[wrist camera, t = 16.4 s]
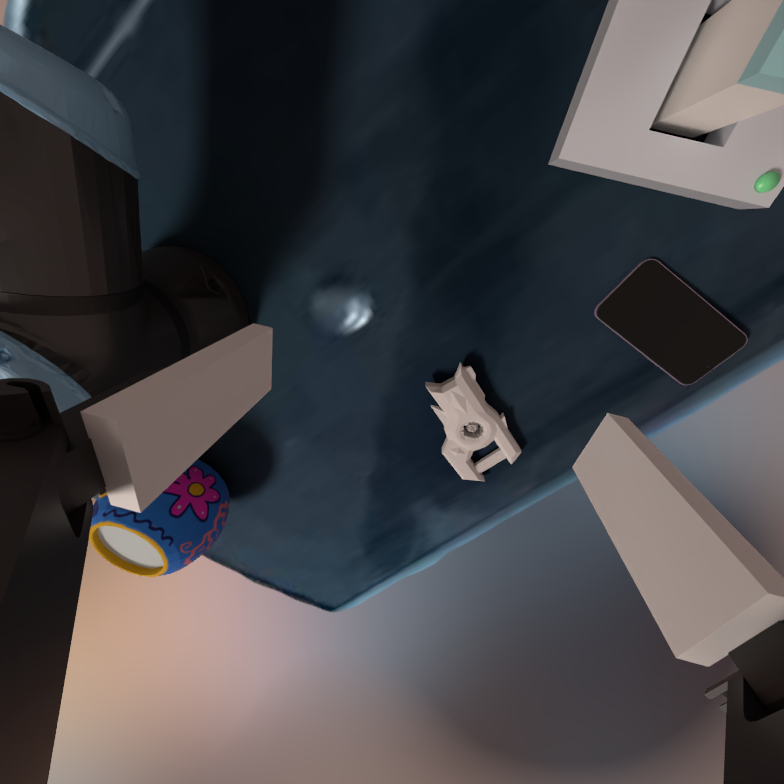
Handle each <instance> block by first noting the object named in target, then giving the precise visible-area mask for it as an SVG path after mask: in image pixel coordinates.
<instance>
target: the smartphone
mask: <svg viewBox="0 0 784 784" xmlns="http://www.w3.org/2000/svg"><path fill="white" fill-rule="evenodd" d="M594 314H595V316H596V318H597V319H599V320H600V321H601V322H602V323H604V324H605V325H606V326H607V327H609V328H610V329H611V330H612V331H614V332H615V333H616V334H617V335H619V336H620V337H621V338H623V339H624V340H625V341H626V342H628V343H629V344H630V345H631V346H633V345H634V346H633V347H634V348H635V349H636V350H638V351H639V352H640V353H641V354H643V355H644V356H645V357H647V359H649V360H650V361H651V362H652V363H654V364H655V365H656V366H658V367H659V368H661V367H662V368H661V369H662V370H663V371H664V372H666V373H667V374H668V375H669V376H671V377H672V378H673V379H675V380H676V381H677V382H679V383H680V384H683V385H690V384H693V383H695V382H696V381H698V380H699V379H701V378H702V377H703V376H705V375H706V374H707V373H709V372H710V371H712V370H713V369H714V368H716V367H717V366H718V365H720V364H721V363H722V362H724V361H725V360H726V359H728V358H729V357H731V356H732V355H733V354H735V353H736V352H737V351H739V350H740V349H741V348H743V347H744V346H745V344H746V343H747V340H748V338H747V336H746V334H745V333H744V332H742V331H741V330H740V329H739V328H738V327H736V326H735V325H734V324H733V323H732V322H731V321H729V320H728V319H727V318H726V317H725V316H723V315H722V314H721V313H720V312H719V311H718V310H716V309H715V308H714V307H713V306H712V305H710V304H709V303H708V302H707V301H706V300H704V299H703V298H702V297H701V296H700V295H699V294H697V293H696V292H695V291H694V290H693V289H691V288H690V287H689V286H688V285H687V284H686V283H684V282H683V281H682V280H681V279H680V278H678V277H677V276H676V275H675V274H674V273H672V272H671V271H670V270H669V269H668V268H667V267H665V266H664V265H663V264H662V263H661V262H659V261H658V260H656V259H646V260H643V261H642V262H640V263H639V264H638V265H637V266H636V267H635V268H634V269H633V270H632V271H631V272H630V273H629V274H628V275H627V276H626V277H625V278H624V279H623V280H622V281H621V282H620V283H619V284H618V285H617V286H616V287H615V288H614V289H613V290H612V291H611V292H610V293H609V294H608V295H607V296H606V297H605V298H604V299H603V300H602V301H601V302H600V303H599V304H598V305H597V306H596V308H595V311H594Z"/></svg>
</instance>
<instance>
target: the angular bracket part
mask: <svg viewBox="0 0 784 784" xmlns="http://www.w3.org/2000/svg"><path fill="white" fill-rule="evenodd" d="M425 386H426V388H427V389H428V391H429V392H430V393H431V395H432V396H433V397H434V399H435V400H436V402H437V403H438V404H439V406H440V407H439V406H434V405H431V407H432V408H433V410H434V411H435V413H436V414H437V416H438V417H439V419H440V420H441V421H442V423H443V424H444V429H445V432H446V435H447V437H446V439H445V442H444V444H443V446H442V454H443V455H444V456H445V457H446V459H447V460H448V461H449V463H450V464H451V465H452V466H453V468H454V469H455V470H456V471H457V473H458V474H459V475H460V477H461V478H462V479H466V480H477V481H485V480H484V476H483V474H482V472H484V471H485V470H487V469H489V468H490V467H492V466H493V465H495V464H497V463H498V462H500V461H502V460H503V459H505V458H507V459H508V461H509V462H510V464H512V463H513V462H514V461H515V459H516V458H517V457H518V456H519V455H520V453H521V449H520V447H519V445H518V444H517V442H516V441H515V439H514V438H513V436H512V434H511V433H510V431H509V430H508V428H507V424H506V420H505V416H504V413H502V414H501V415H500V416H499V414H498V413H497V411H496V410H495V409H493V408H492V407H491V406H490V405H489V404H487V403H486V401H485V394H484V393H483V391H482V390H481V388H480V386H479V385H478V383H477V382H476V374H475V372H474V371H473V369H472V367H471V366H466V367H463V366H462V364H461V363H460V364H459V367H458V369H457V371H456V374H455V376H454V377H452V378H450V379H448V380H446V381H445V382H443V383H430V382H425ZM478 424H479V425H480V426H478ZM464 426H466V427H464ZM493 440H495V442H496V443H497V445H498V446H499V448H498V449H496V450H495V451H493V452H491V453H490V454H488V455H487V456H485V457H484V458H482V459H481V460H479V461H478V462H476V463H474V462H473V461H472V459H471V456H472V454H473V451H475V450H478V449H481V448H484V447H486V446H487V445H489V444H490V443H491V442H492V441H493Z"/></svg>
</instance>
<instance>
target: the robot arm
mask: <svg viewBox="0 0 784 784" xmlns="http://www.w3.org/2000/svg"><path fill="white" fill-rule="evenodd" d="M138 180H140V173H139V172H138V171H137V169H136V161H135V153H134V146H133V138H132V128H131V123H130V119H129V117H128V114H127V112H126V110H125V108H124V107H123V105H122V104H121V102H120V101H119V100H118V99H117V97H116V96H115V95H114V94H113V93H112V92H111V91H110V90H109V89H108V88H107V87H105V86H104V85H103V84H102V83H100V82H99V81H97V80H96V79H94V78H93V77H91V76H90V75H88V74H86V73H85V72H83V71H82V70H80V69H78V68H76V67H75V66H73V65H71V64H70V63H68V62H66V61H65V60H63V59H61V58H59V57H58V56H56V55H54V54H52V53H51V52H49V51H47V50H45V49H44V48H42V47H40V46H38V45H37V44H35V43H33V42H31V41H29V40H28V39H26V38H24V37H22V36H20V35H19V34H17V33H15V32H13V31H11V30H9V29H8V28H6V27H4V26H2V25H0V784H47V781H48V775H49V770H50V764H51V757H52V752H53V746H54V740H55V734H56V728H57V722H58V716H59V710H60V705H61V699H62V693H63V687H64V680H65V675H66V669H67V663H68V657H69V652H70V645H71V640H72V634H73V628H74V622H75V616H76V610H77V604H78V598H79V592H80V587H81V581H82V575H83V569H84V563H85V557H86V551H87V545H88V540H89V534H90V528H91V522H92V516H93V510H94V508H93V504H92V500H91V498H92V497H94V496H95V495H96V494H98V493H99V492H100V491H101V490H103V489H104V488H105V489H106V492H107V495H108V498H109V501H110V504H111V505H113V506H117V507H120V508H124V509H128V510H131V511H135V512H139V513H141V512H142V511H143V510H144V509H145V508H146V507H148V506H149V505H150V504H151V503H152V502H153V501H154V500H155V499H156V498H157V497H158V496H159V495H160V494H161V493H162V492H163V491H164V490H165V489H166V488H168V487H169V486H170V485H171V484H172V483H173V482H174V481H175V480H176V479H177V478H178V477H179V476H180V475H181V474H182V473H183V472H184V471H185V470H187V469H188V468H189V467H190V466H191V465H192V464H193V463H194V462H195V461H196V460H197V459H198V458H199V457H200V456H201V455H202V454H203V453H204V452H205V451H207V450H208V449H209V448H210V447H211V446H212V445H213V444H214V443H215V442H216V441H217V440H218V439H219V438H220V437H221V436H222V435H223V434H224V433H226V432H227V431H228V430H229V429H230V428H231V427H232V426H233V425H234V424H235V423H236V422H237V421H238V420H239V419H240V418H241V417H242V416H243V415H244V414H246V413H247V412H248V411H249V410H250V409H251V408H252V407H253V406H254V405H255V404H256V403H257V402H258V401H259V400H260V399H261V398H262V397H263V396H265V395H266V394H267V393H268V392H269V391H270V390H271V372H272V333H273V328H270V327H266V326H262V325H259V324H255V323H253V324H251V325H249V319H248V312H247V308H246V305H245V302H244V299H243V297H242V294H241V292H240V291H239V289H238V287H237V285H236V284H235V282H234V281H233V280H232V278H231V277H230V276H229V275H228V273H227V272H226V271H225V270H224V269H223V268H222V267H221V266H220V265H219V264H217V263H216V262H215V261H214V260H212V259H211V258H209V257H208V256H206V255H204V254H202V253H200V252H198V251H196V250H193V249H190V248H186V247H180V246H168V247H157V248H152V249H148V250H146V251H143V252H142V250H141V235H140V221H139V199H138ZM572 468H573V469H574V471H575V473H576V475H577V477H578V479H579V480H580V482H581V484H582V486H583V488H584V489H585V491H586V493H587V495H588V497H589V499H590V501H591V503H592V504H593V506H594V508H595V510H596V512H597V514H598V515H599V517H600V519H601V521H602V523H603V524H604V526H605V528H606V530H607V532H608V534H609V536H610V537H611V539H612V541H613V543H614V545H615V547H616V549H617V550H618V552H619V554H620V556H621V558H622V560H623V561H624V563H625V565H626V567H627V569H628V571H629V572H630V574H631V576H632V578H633V580H634V582H635V584H636V585H637V587H638V589H639V591H640V592H641V594H642V596H643V598H644V600H645V602H646V604H647V606H648V607H649V609H650V611H651V613H652V615H653V617H654V618H655V620H656V622H657V624H658V626H659V628H660V629H661V631H662V633H663V635H664V637H665V639H666V641H667V642H668V644H669V646H670V648H671V650H672V651H673V653H674V655H675V657H676V658H678V659H682V660H686V661H689V662H693V663H697V664H700V665H704V666H708V667H709V666H711V665H712V664H714V663H715V662H717V661H718V660H720V659H722V658H723V657H725V656H727V655H728V654H729V655H730V657H731V658H732V660H733V661H734V663H735V664H736V666H737V667H738V668H739V671H737V672H735V673H733V674H732V675H730V676H728V677H726V678H725V679H723V680H721V681H720V682H718V683H716V684H715V685H713V686H711V687H709V688H707V690H706V692H705V696H707V697H708V698H709V699H712V698H714V697H716V696H718V695H724V696H726V697H727V702H726V703H724V704H722V705H720V706H719V707H720V708H721V709H722V710H723V711H724V712H725V713H726V739H725V762H724V784H784V578H783V577H782V576H781V575H780V574H779V573H778V572H777V571H776V570H775V569H774V568H773V567H772V566H771V565H770V564H769V563H768V562H767V561H766V560H765V559H764V558H763V556H762V555H761V554H760V553H759V552H758V551H757V550H756V549H755V548H754V547H753V546H752V545H751V544H750V543H749V542H748V541H747V540H746V539H745V538H744V537H743V536H742V535H741V534H740V533H739V532H738V531H737V530H736V529H735V528H734V527H733V526H732V525H731V524H730V523H729V522H728V521H727V520H726V519H725V518H724V517H723V516H722V514H720V512H718V510H716V508H715V507H714V506H713V505H712V504H711V503H710V502H709V501H708V500H707V499H706V498H705V497H704V496H703V495H702V494H701V493H700V492H699V491H698V490H697V489H696V488H695V487H694V486H693V485H692V484H691V483H690V482H689V481H688V480H687V479H686V478H685V477H684V476H683V474H682V473H681V472H680V471H679V470H678V469H677V468H676V467H675V466H674V465H673V464H672V463H671V462H670V461H669V460H668V459H667V458H666V457H665V456H664V455H663V454H662V453H661V452H660V451H659V450H658V449H657V448H656V447H655V446H654V445H653V444H652V443H651V442H650V441H649V440H648V438H647V437H646V436H645V435H644V434H643V433H642V432H641V431H640V430H639V429H638V428H637V427H636V426H635V425H634V424H633V423H632V422H631V421H630V420H629V419H628V418H625V417H621V416H617V415H614V414H610V413H607V415H606V416H605V418H604V419H603V421H602V422H601V424H600V425H599V427H598V428H597V430H596V431H595V433H594V435H593V436H592V438H591V439H590V441H589V442H588V444H587V445H586V447H585V448H584V450H583V451H582V453H581V454H580V456H579V457H578V459H577V461H576V462H575V464H574V465H573V467H572Z"/></svg>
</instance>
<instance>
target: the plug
mask: <svg viewBox="0 0 784 784" xmlns="http://www.w3.org/2000/svg"><path fill="white" fill-rule="evenodd" d="M783 105H784V0H731V1H730V2H729V3H728V4H726V5H725V6H724V7H722V8H721V9H720V10H719V11H717V12H716V13H715V14H714V15H712V16H711V17H710V18H708V19H707V20H706V21H705V22H703V23H702V24H701V25H699V27H698V29H697V31H696V33H695V35H694V37H693V40H692V42H691V44H690V46H689V48H688V50H687V52H686V54H685V56H684V58H683V60H682V63H681V65H680V67H679V69H678V71H677V73H676V75H675V77H674V79H673V81H672V83H671V86H670V88H669V90H668V92H667V94H666V96H665V98H664V100H663V102H662V104H661V106H660V109H659V111H658V113H657V115H656V117H655V119H654V121H653V123H652V125H651V127H650V128H652V129H656V130H661V131H665V132H669V133H674V134H678V135H682V136H687V137H691V138H694V137H696V136H699V135H702V134H705V133H708V132H710V131H713V130H716V129H719V128H722V127H724V126H727V125H730V124H733V123H736V122H738V121H741V120H744V119H747V118H750V117H752V116H755V115H758V114H761V113H764V112H766V111H769V110H772V109H775V108H778V107H780V106H783Z"/></svg>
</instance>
